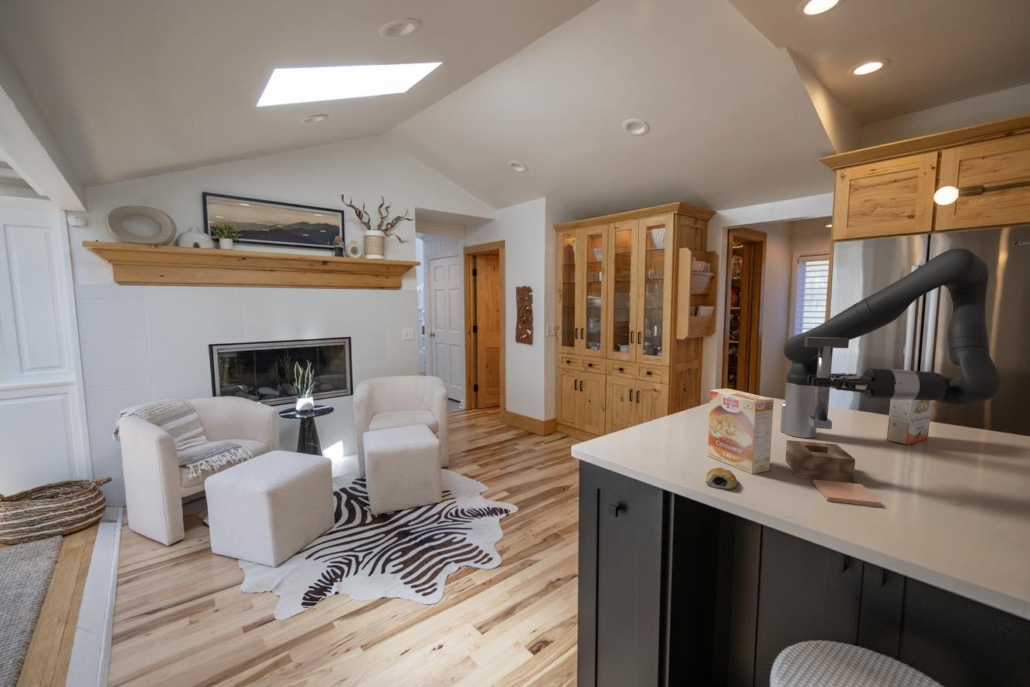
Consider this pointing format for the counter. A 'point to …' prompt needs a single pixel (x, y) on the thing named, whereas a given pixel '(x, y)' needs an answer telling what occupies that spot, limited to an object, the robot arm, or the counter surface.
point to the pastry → (721, 478)
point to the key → (823, 372)
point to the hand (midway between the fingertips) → (810, 380)
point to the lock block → (820, 461)
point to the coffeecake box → (740, 429)
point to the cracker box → (909, 421)
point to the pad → (846, 493)
